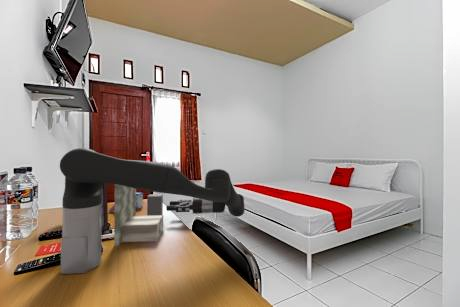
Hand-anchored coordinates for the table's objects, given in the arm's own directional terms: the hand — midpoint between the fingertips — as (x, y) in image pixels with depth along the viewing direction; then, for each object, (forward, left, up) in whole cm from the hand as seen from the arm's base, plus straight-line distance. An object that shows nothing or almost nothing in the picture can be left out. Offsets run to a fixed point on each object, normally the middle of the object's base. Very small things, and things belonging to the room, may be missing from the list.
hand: (168, 205), depth 105 cm
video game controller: (+14, +28, -7) cm, 32 cm away
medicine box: (+25, +23, -7) cm, 35 cm away
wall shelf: (-18, +6, -7) cm, 20 cm away
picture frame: (-16, +30, -7) cm, 35 cm away
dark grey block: (0, +6, -7) cm, 9 cm away
